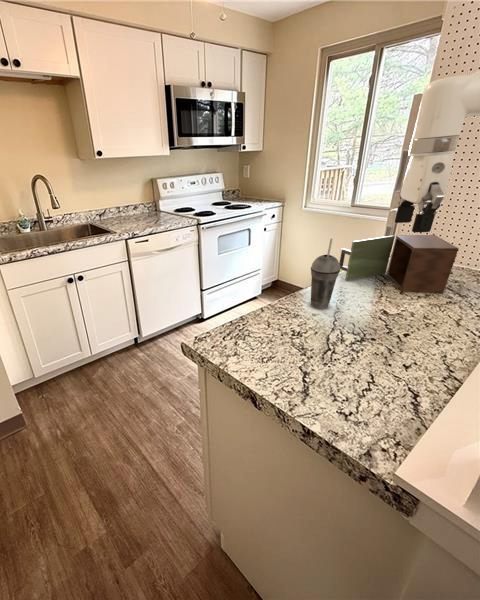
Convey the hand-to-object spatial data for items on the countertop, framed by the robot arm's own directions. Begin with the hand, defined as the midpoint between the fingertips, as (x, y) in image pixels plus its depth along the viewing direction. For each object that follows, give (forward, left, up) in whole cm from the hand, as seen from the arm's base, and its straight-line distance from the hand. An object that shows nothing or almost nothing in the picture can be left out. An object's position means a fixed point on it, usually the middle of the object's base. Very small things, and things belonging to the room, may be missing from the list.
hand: (411, 226), depth 73 cm
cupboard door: (0, -30, -24) cm, 38 cm away
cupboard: (-13, -24, -24) cm, 36 cm away
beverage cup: (+16, -3, -24) cm, 29 cm away
